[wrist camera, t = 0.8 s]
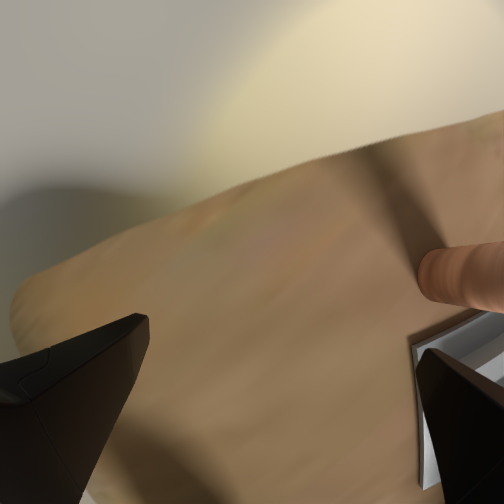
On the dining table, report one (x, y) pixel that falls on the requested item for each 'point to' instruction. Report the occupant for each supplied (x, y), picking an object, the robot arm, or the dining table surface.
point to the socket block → (472, 355)
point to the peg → (465, 276)
